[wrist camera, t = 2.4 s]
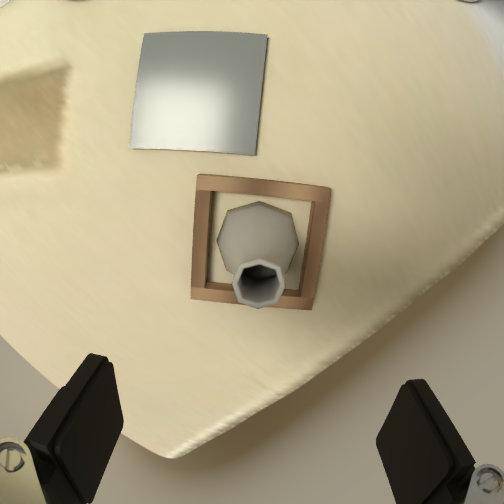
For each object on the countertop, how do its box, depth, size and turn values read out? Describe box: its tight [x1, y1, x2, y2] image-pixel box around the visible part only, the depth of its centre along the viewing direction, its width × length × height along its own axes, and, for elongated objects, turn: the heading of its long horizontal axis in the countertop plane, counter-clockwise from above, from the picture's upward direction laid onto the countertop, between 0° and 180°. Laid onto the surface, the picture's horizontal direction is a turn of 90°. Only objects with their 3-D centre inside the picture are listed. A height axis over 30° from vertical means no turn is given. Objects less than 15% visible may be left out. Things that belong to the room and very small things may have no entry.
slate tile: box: [129, 31, 267, 155], centre depth 24 cm, size 11×11×1 cm
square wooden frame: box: [191, 174, 331, 310], centre depth 28 cm, size 11×11×2 cm
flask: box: [217, 201, 299, 309], centre depth 24 cm, size 7×7×10 cm
